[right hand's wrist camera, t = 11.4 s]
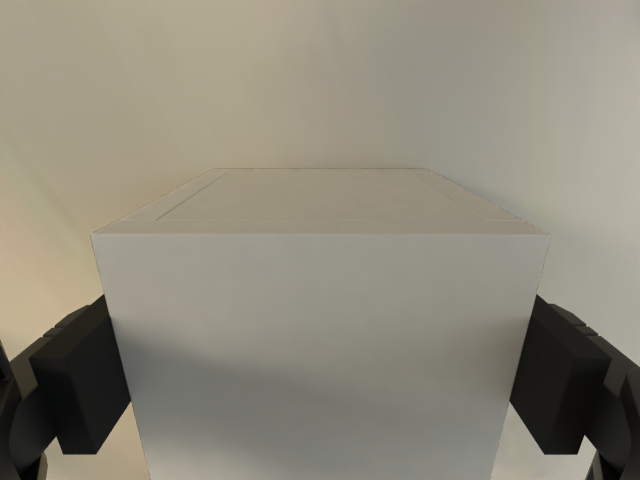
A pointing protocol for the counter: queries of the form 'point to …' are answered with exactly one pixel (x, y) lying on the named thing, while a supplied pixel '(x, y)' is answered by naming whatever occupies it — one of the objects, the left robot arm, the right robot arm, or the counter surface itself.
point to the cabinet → (320, 324)
